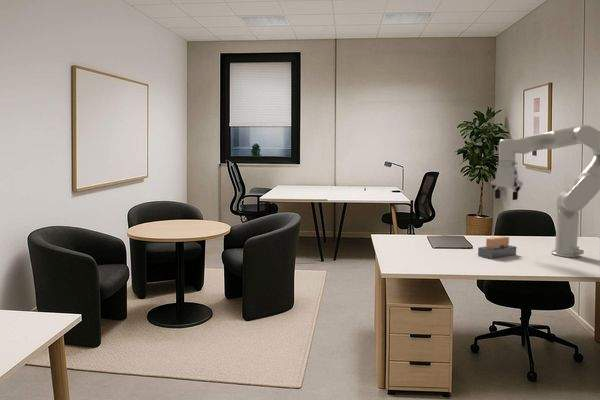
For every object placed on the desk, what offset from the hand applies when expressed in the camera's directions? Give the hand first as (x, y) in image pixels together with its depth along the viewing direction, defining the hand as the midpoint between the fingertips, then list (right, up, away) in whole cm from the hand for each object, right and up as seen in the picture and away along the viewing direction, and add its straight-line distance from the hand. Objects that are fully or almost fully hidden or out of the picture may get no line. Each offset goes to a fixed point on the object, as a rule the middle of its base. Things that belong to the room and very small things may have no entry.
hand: (506, 199), depth 278 cm
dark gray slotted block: (-7, -27, -7) cm, 29 cm away
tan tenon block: (-7, -27, -7) cm, 29 cm away
